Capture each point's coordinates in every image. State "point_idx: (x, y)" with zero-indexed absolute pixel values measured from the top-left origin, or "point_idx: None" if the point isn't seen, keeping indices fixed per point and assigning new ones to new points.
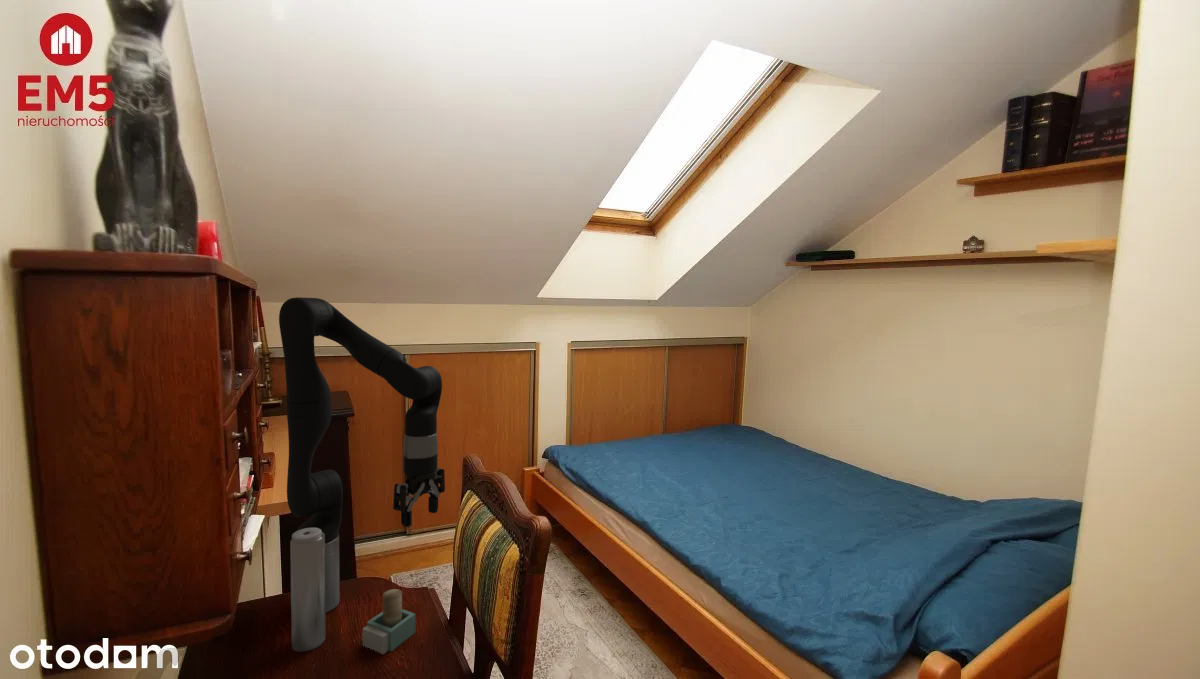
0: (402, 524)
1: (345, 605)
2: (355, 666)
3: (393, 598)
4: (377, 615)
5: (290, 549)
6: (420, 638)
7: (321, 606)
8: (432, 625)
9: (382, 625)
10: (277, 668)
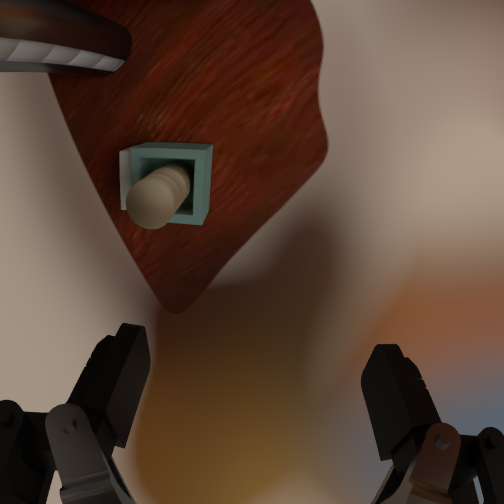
0: (123, 325)
1: (227, 7)
2: (96, 177)
3: (136, 222)
4: (158, 150)
5: None
6: (199, 229)
7: (65, 70)
8: (242, 226)
9: None
10: (49, 73)
